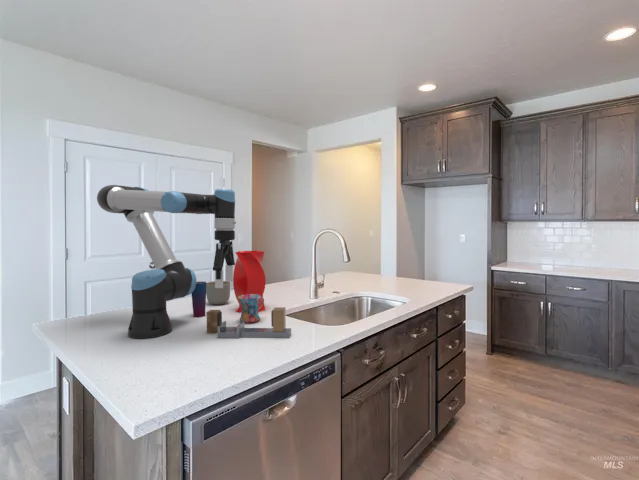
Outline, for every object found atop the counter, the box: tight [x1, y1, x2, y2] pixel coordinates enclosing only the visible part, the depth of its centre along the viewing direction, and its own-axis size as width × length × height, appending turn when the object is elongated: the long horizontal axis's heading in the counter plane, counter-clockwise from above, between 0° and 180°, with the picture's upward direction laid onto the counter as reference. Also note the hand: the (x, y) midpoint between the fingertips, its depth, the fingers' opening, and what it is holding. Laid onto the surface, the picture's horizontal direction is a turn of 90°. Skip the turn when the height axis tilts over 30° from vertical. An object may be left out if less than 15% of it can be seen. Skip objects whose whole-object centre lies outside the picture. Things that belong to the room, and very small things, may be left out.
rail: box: [216, 306, 292, 339], centre depth 130 cm, size 26×7×10 cm, turn 87°
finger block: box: [206, 309, 223, 334], centre depth 135 cm, size 5×4×8 cm
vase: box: [232, 250, 266, 313], centre depth 169 cm, size 15×14×28 cm
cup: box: [190, 281, 208, 318], centre depth 159 cm, size 7×7×15 cm
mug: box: [238, 294, 265, 324], centre depth 151 cm, size 12×9×11 cm
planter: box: [206, 280, 231, 306], centre depth 183 cm, size 12×12×11 cm
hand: (224, 284), depth 137 cm, fingers open, 13 cm apart
